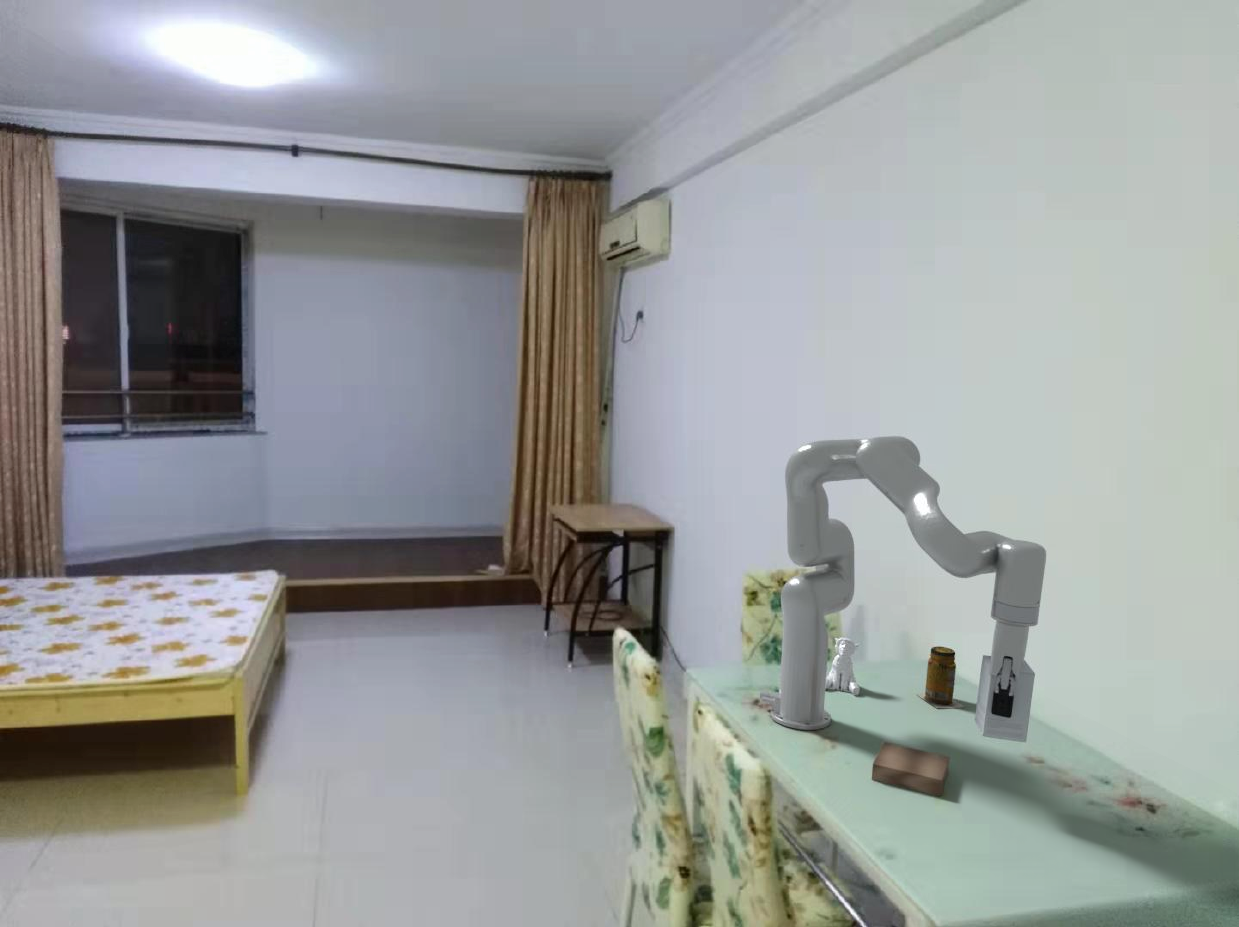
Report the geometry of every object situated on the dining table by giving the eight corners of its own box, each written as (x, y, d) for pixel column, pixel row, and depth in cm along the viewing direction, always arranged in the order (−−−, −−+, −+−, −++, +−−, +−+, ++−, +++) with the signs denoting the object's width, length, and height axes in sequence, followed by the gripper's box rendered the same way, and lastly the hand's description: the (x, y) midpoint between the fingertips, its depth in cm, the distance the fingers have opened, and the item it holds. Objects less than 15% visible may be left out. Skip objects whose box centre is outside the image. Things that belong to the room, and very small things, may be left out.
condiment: (943, 693, 207) (948, 644, 205) (965, 707, 198) (970, 656, 197) (915, 695, 205) (920, 645, 204) (936, 709, 197) (940, 657, 195)
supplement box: (1027, 743, 152) (1036, 673, 150) (981, 737, 153) (990, 667, 151) (1016, 725, 159) (1025, 658, 157) (973, 720, 160) (981, 653, 159)
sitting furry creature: (817, 689, 206) (820, 640, 204) (822, 677, 214) (825, 630, 212) (858, 696, 202) (862, 646, 201) (862, 684, 210) (866, 635, 209)
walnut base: (871, 779, 161) (872, 763, 161) (882, 756, 171) (884, 741, 171) (940, 796, 156) (941, 780, 156) (948, 771, 166) (949, 756, 165)
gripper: (995, 596, 162) (984, 686, 165) (987, 620, 147) (975, 718, 149) (1040, 604, 159) (1028, 695, 161) (1036, 628, 144) (1023, 729, 146)
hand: (1002, 706), depth 155 cm, fingers closed on supplement box, 8 cm apart
